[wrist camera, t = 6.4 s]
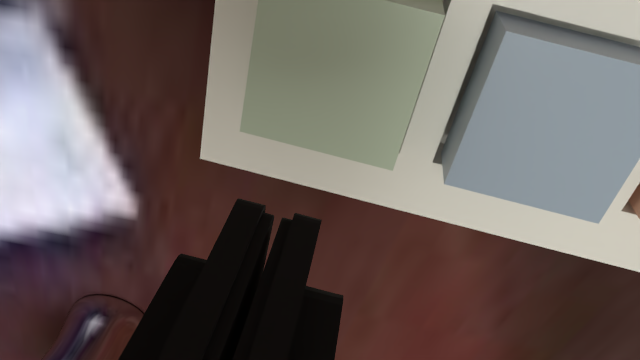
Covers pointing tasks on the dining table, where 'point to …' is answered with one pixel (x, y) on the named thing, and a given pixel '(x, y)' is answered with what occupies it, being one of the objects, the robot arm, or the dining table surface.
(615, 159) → the button slate
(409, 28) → the button sage
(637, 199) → the button terracotta
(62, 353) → the beer glass
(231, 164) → the button panel
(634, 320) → the dining table surface
